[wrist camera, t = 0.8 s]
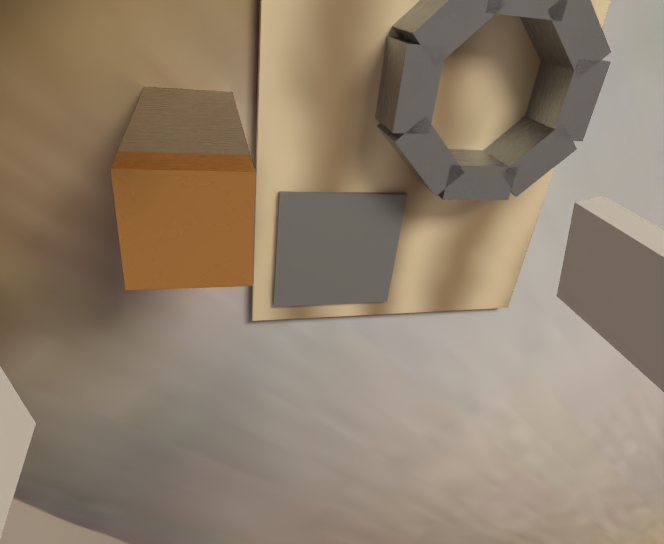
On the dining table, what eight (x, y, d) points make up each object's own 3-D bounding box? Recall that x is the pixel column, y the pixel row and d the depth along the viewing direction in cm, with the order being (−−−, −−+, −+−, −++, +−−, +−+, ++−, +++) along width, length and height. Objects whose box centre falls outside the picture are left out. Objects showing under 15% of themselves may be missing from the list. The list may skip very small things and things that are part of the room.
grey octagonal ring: (366, 179, 34) (382, 199, 31) (398, -47, 28) (422, -48, 25) (533, 182, 38) (561, 200, 35) (597, -20, 31) (638, -18, 28)
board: (251, 314, 39) (252, 320, 38) (262, -98, 26) (264, -100, 25) (502, 302, 44) (507, 307, 44) (616, -44, 31) (625, -44, 31)
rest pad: (273, 303, 38) (273, 306, 37) (278, 191, 33) (279, 193, 33) (385, 298, 40) (387, 301, 40) (405, 192, 36) (407, 194, 35)
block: (151, 170, 32) (125, 290, 20) (144, 86, 29) (110, 169, 17) (232, 171, 33) (252, 285, 21) (232, 92, 30) (255, 171, 19)
